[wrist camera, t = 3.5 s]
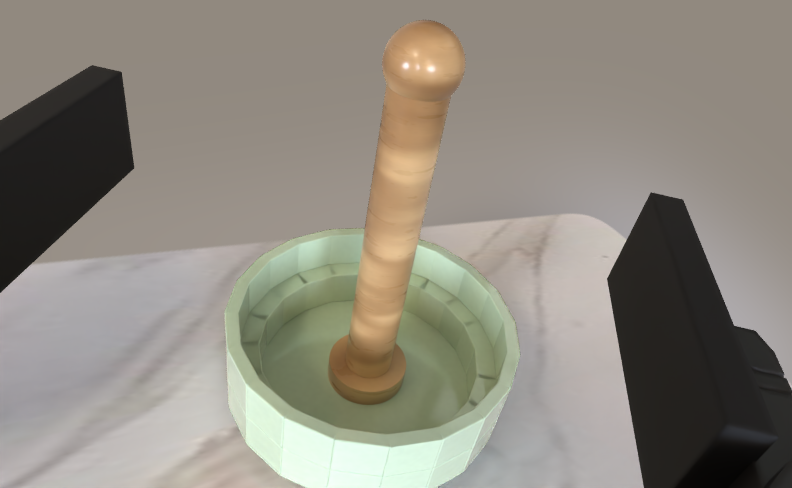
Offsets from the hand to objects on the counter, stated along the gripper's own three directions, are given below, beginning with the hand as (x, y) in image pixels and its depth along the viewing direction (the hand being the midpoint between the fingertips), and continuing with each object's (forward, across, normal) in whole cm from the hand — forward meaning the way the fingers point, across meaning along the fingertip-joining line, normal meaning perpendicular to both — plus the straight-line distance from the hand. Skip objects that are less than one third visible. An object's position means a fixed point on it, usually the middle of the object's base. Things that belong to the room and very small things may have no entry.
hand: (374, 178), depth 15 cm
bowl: (+10, 0, -20) cm, 22 cm away
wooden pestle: (+10, 0, -19) cm, 21 cm away
